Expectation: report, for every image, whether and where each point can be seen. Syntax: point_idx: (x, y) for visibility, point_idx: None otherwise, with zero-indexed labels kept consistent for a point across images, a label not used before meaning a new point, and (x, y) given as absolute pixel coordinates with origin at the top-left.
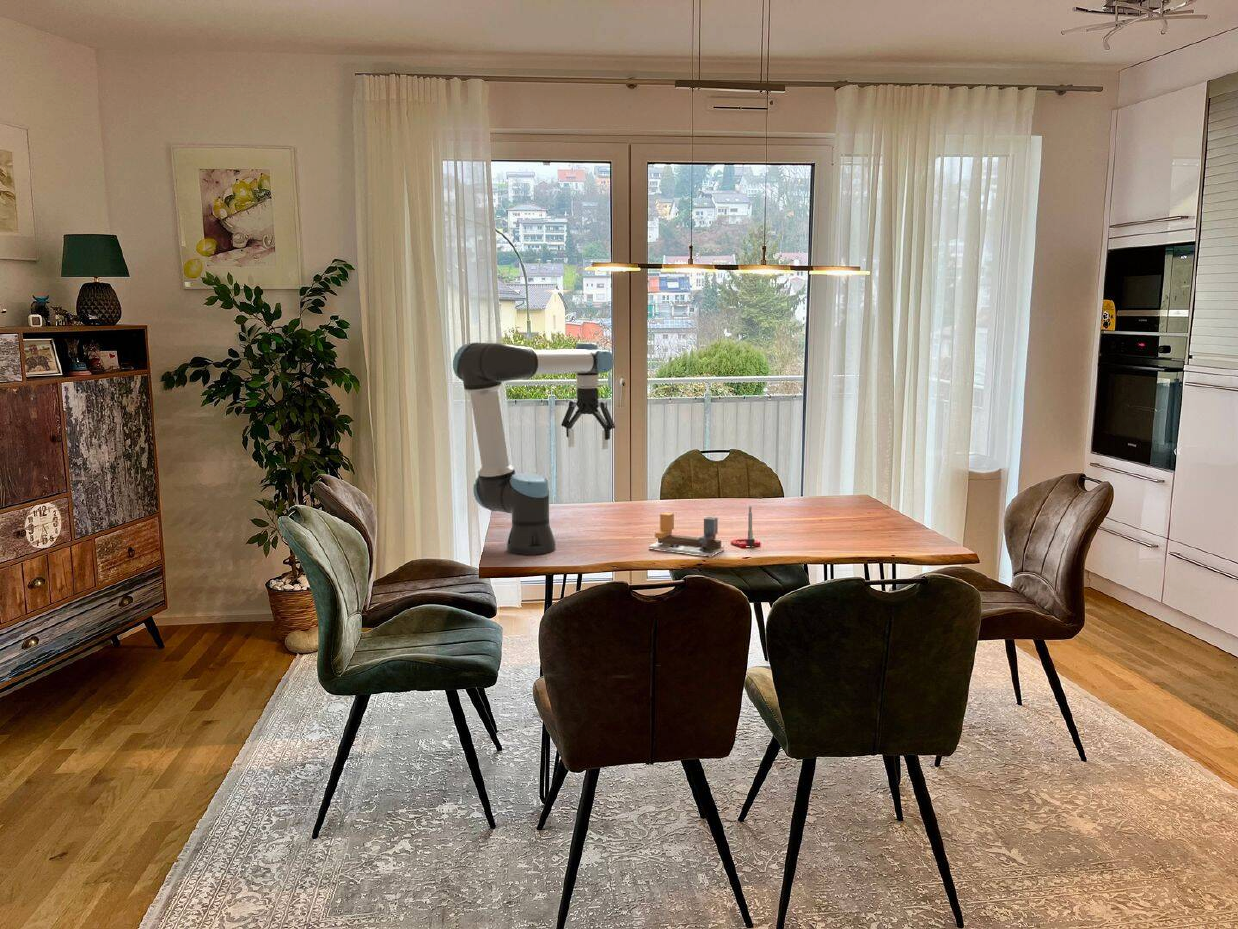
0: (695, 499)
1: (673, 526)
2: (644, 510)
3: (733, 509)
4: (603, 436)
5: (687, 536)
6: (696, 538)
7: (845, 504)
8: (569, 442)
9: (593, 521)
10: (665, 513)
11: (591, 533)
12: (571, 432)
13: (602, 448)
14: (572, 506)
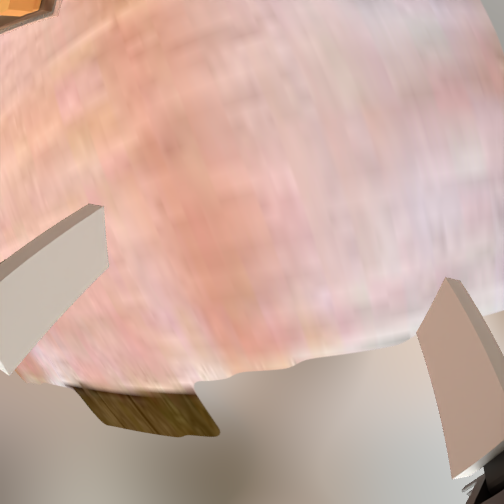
0: (151, 386)
1: (16, 15)
2: (194, 300)
3: (64, 320)
4: (12, 262)
5: (11, 21)
6: (2, 20)
7: None
8: (468, 306)
9: (277, 145)
10: (6, 2)
11: (227, 5)
12: (481, 407)
13: (99, 209)
14: (387, 314)
